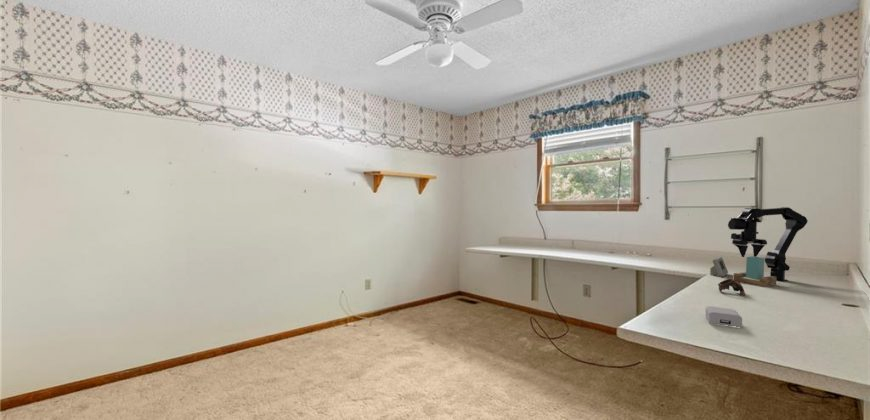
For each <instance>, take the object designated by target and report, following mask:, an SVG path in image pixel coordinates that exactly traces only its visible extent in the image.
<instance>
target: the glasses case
mask: <svg viewBox="0 0 870 420" xmlns="http://www.w3.org/2000/svg"><path fill="white" fill-rule="evenodd" d="M745 266H746V269H745V272H746V278H752V279H757V280H759V279H760V277H765V276H764V275H765V274H764V272H765V258H764V257H761V256H760V257H759V256H756V257H755V256H754V255H753V256H746V265H745Z"/></svg>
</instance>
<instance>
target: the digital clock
mask: <svg viewBox="0 0 870 420" xmlns="http://www.w3.org/2000/svg"><path fill="white" fill-rule="evenodd" d="M711 260H712V263H713V266H711V267H710V270H709V271H710V272H709V275H710V276H717V277H720V278H723V277H725V276H726V275H728V273H729V271H728V268H727V265H726V263H725V262H724V259H723V257H722V256H716V257H714V258H713V259H711Z"/></svg>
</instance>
